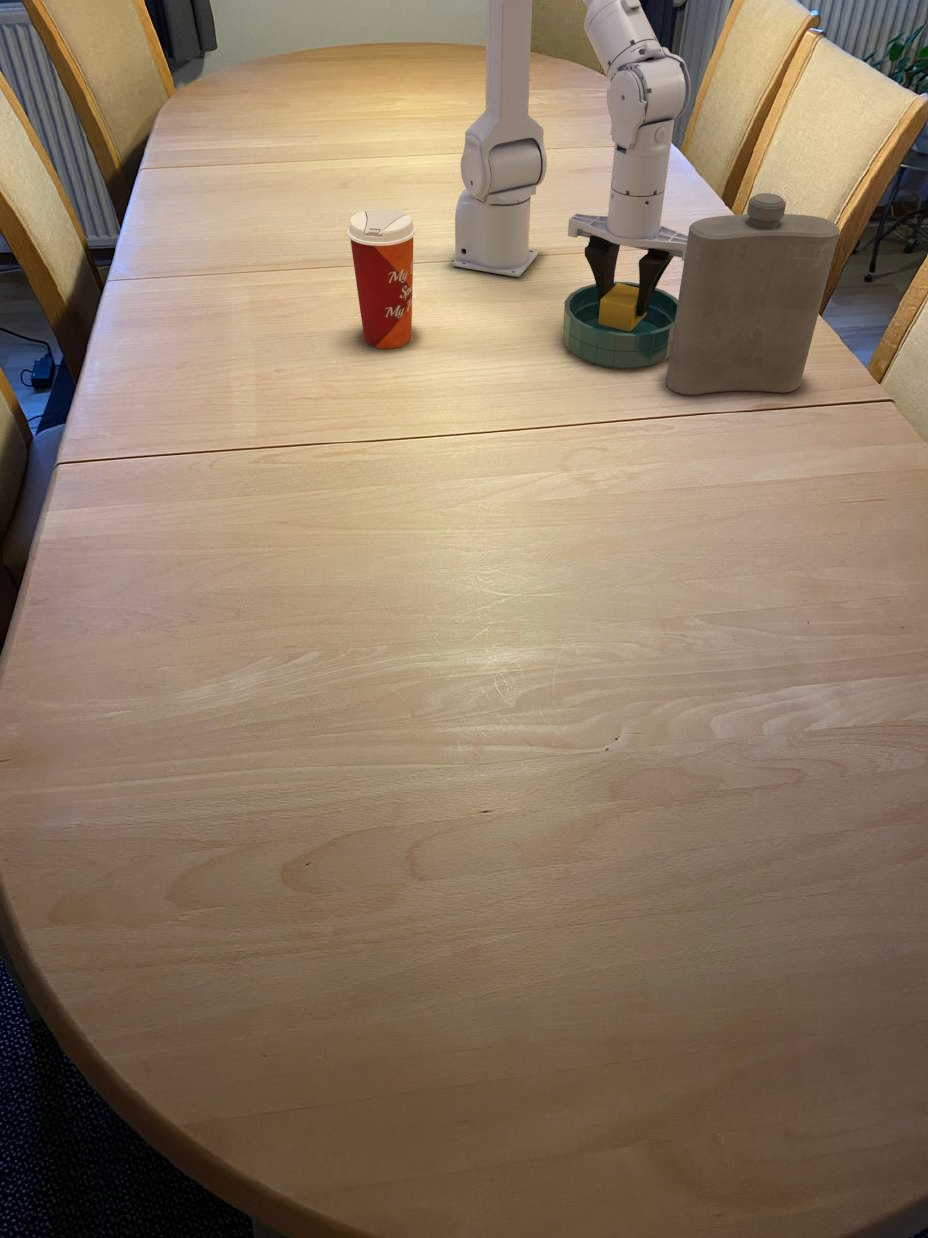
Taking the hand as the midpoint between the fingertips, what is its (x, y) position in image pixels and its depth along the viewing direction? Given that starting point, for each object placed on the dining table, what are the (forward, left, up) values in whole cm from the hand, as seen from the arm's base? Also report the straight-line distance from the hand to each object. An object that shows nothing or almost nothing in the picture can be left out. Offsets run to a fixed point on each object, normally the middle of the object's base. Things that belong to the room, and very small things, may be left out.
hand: (623, 308), depth 114 cm
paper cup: (-26, -9, -5) cm, 28 cm away
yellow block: (0, 0, -1) cm, 1 cm away
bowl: (0, 0, -4) cm, 4 cm away
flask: (+14, -4, -5) cm, 15 cm away
